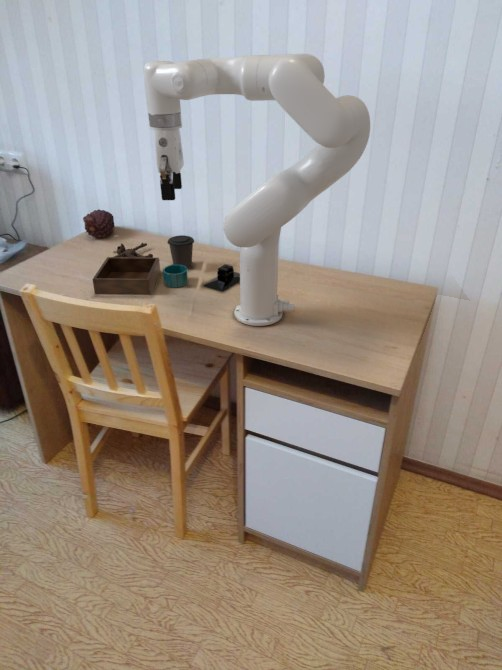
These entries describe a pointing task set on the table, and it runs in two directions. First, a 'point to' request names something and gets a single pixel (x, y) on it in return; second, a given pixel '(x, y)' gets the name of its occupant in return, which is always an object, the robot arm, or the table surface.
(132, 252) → the brown branch
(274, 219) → the robot arm
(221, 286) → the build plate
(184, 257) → the coffee cup
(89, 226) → the pine cone
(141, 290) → the open wooden box
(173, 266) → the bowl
